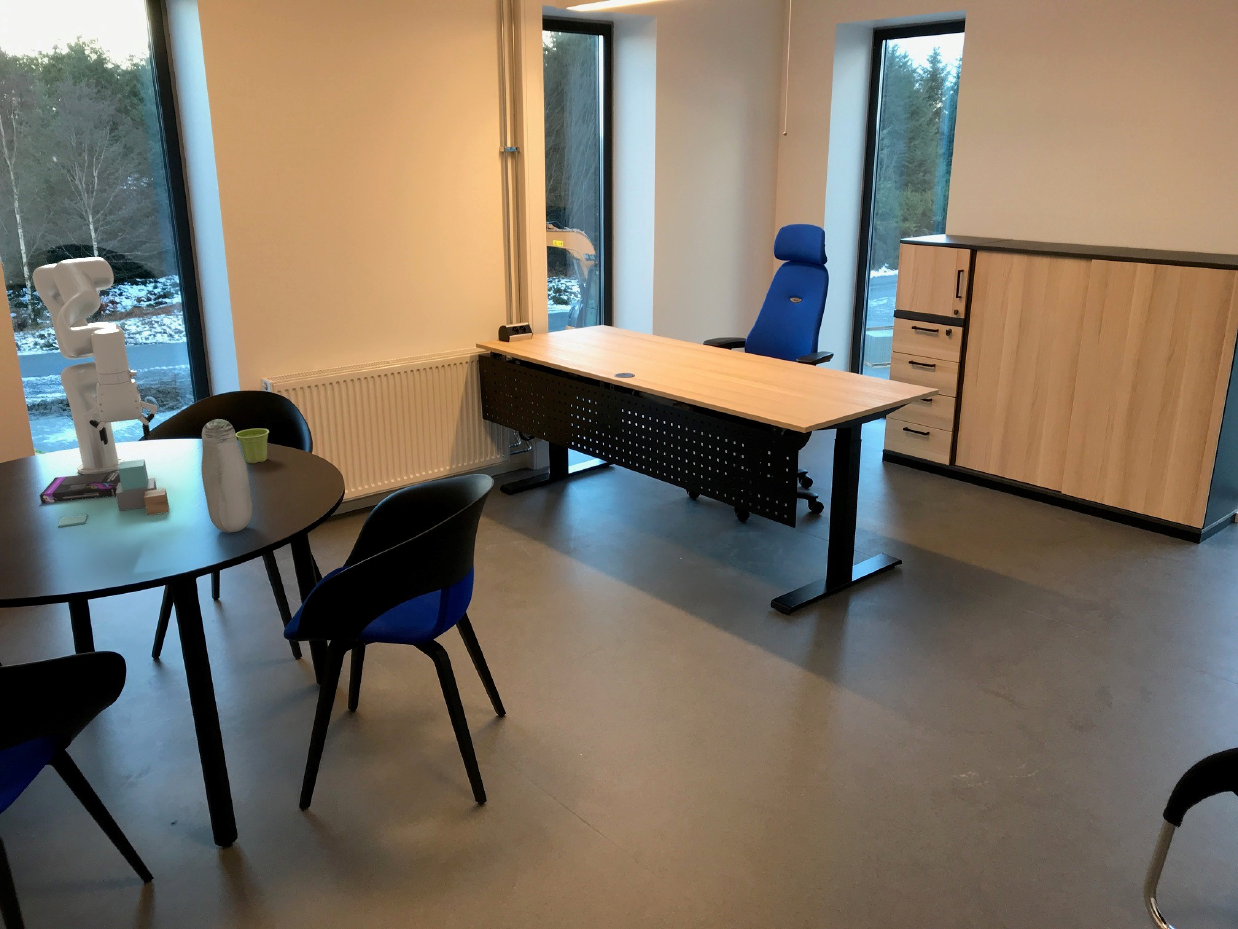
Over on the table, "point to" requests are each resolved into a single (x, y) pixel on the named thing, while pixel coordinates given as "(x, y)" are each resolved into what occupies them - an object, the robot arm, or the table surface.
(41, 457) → the table surface
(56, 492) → the box
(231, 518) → the white bottle
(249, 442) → the plant pot
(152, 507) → the walnut cube
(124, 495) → the grey square block
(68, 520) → the tile
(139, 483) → the teal cube
